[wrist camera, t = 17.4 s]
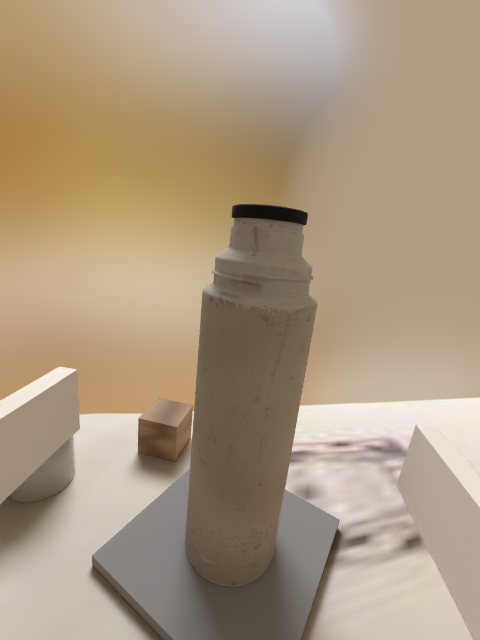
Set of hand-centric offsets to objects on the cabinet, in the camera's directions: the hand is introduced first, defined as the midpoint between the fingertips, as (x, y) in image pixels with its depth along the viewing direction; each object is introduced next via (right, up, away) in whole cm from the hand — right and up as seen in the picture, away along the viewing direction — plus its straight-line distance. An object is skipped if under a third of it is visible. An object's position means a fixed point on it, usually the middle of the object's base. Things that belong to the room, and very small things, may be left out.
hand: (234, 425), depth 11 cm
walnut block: (-10, -12, +27) cm, 31 cm away
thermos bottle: (-1, -16, +15) cm, 22 cm away
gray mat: (-1, -16, +15) cm, 22 cm away
